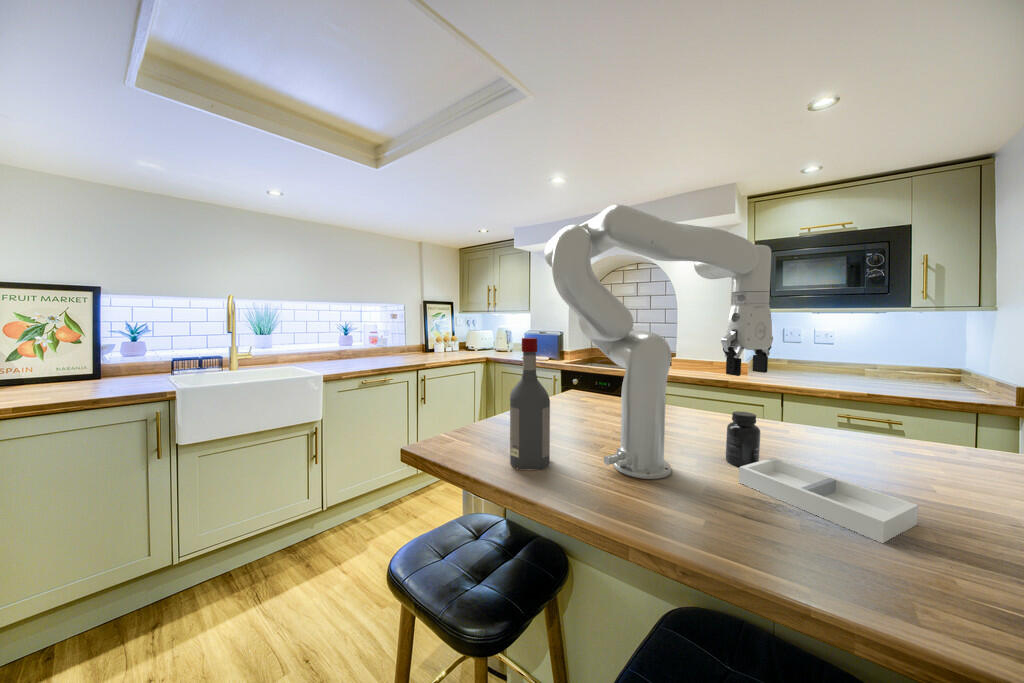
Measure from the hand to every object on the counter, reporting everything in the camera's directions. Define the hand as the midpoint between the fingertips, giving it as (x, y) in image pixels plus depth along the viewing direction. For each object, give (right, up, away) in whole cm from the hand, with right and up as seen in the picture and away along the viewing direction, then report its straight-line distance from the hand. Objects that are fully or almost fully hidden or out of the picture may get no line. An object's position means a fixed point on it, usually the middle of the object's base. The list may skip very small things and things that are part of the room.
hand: (746, 373), depth 88 cm
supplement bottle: (0, -22, +2) cm, 22 cm away
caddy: (+3, -23, -17) cm, 29 cm away
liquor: (-51, -22, +2) cm, 56 cm away
